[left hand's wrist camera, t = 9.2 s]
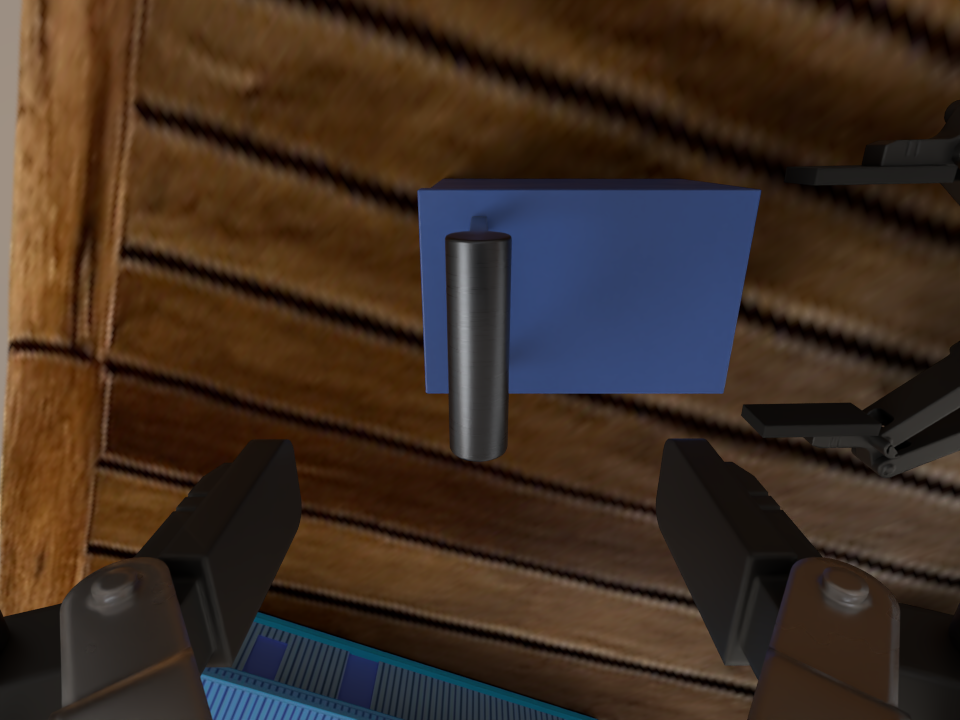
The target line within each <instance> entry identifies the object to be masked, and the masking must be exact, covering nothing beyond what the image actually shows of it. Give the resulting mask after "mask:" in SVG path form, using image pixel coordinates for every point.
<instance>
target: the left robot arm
mask: <svg viewBox="0 0 960 720" xmlns="http://www.w3.org/2000/svg"><path fill="white" fill-rule="evenodd" d="M656 515H657V521H658V525H659V528H660V530H661V533H662V535H663V537H664V539H665V541H666V543H667V545H668V547H669V549H670V551H671V554H672V556H673V558H674V560H675V562H676V564H677V566H678V568H679V570H680V572H681V575H682V577H683V579H684V581H685V583H686V585H687V587H688V589H689V591H690V593H691V595H692V598H693V600H694V602H695V604H696V606H697V608H698V610H699V612H700V614H701V616H702V619H703V621H704V623H705V625H706V627H707V629H708V631H709V633H710V635H711V637H712V640H713V642H714V644H715V646H716V648H717V650H718V652H719V654H720V656H721V658H722V661H723V663H724V665H750V666H751V668H752V670H753V671H754V673H755V675H756V677H757V679H758V684H757V688H756V691H755V695H754V698H753V701H752V705H751V708H750V712H749V715H748V719H747V720H960V603H959V606H958V608H957V610H956V613H955V615H950V614H946V613H941V612H937V611H932V610H928V609H924V608H919V607H915V606H910V605H906V604H902V603H898V602H897V600H896V599H895V597H894V596H893V594H892V593H891V592H890V591H889V590H888V589H887V588H886V587H885V586H884V585H883V584H882V583H881V582H880V581H878V580H877V579H876V578H874V577H873V576H871V575H870V574H868V573H866V572H865V571H863V570H861V569H859V568H857V567H855V566H852V565H850V564H847V563H844V562H841V561H838V560H834V559H830V558H823V557H822V556H821V555H820V553H819V552H818V551H817V550H816V549H815V548H814V546H813V545H812V544H811V543H810V542H809V540H808V539H807V538H806V537H805V536H804V535H803V533H802V532H801V531H800V530H799V529H798V527H797V526H796V525H795V524H794V523H793V522H792V520H791V519H790V518H789V517H788V516H787V514H786V513H785V512H784V511H783V510H780V506H779V505H778V504H777V503H776V501H775V500H774V499H773V498H772V497H771V496H768V492H767V491H766V490H765V488H764V487H763V486H762V485H761V484H760V482H759V481H758V480H757V479H756V478H755V477H754V476H753V475H752V474H750V473H749V472H747V471H745V470H744V469H742V468H741V467H739V466H738V465H736V464H735V463H733V462H724V461H723V460H722V459H721V457H720V456H719V455H718V453H717V452H716V451H715V450H714V448H713V447H712V446H711V445H710V443H709V442H708V441H707V440H706V439H668V440H667V441H666V443H665V445H664V450H663V456H662V463H661V470H660V477H659V483H658V490H657V497H656ZM300 518H301V496H300V489H299V482H298V476H297V469H296V462H295V456H294V450H293V446H292V443H291V442H290V441H289V440H251V441H250V442H249V443H248V444H247V445H246V447H245V448H244V449H243V450H242V452H241V453H240V454H239V455H238V457H237V458H236V459H235V460H234V462H233V463H224V464H222V465H221V466H219V467H217V468H216V469H214V470H213V471H211V472H210V473H208V474H207V475H205V476H204V477H202V478H201V480H200V481H199V482H198V483H197V484H196V485H195V487H194V488H193V489H192V490H191V491H190V492H189V494H188V497H185V498H184V499H183V501H182V502H181V503H180V504H179V505H178V506H177V508H176V511H173V512H172V514H171V515H170V516H169V517H168V518H167V519H166V521H165V522H164V523H163V524H162V525H161V526H160V528H159V529H158V530H157V531H156V532H155V533H154V535H153V536H152V537H151V538H150V539H149V540H148V542H147V543H146V544H145V545H144V546H143V547H142V549H141V550H140V551H139V552H138V553H137V555H136V556H135V557H134V558H130V559H126V560H122V561H119V562H116V563H113V564H110V565H108V566H105V567H103V568H101V569H99V570H97V571H95V572H94V573H92V574H90V575H89V576H87V577H86V578H84V579H83V580H82V581H80V582H79V583H78V584H77V585H76V586H75V587H74V588H73V589H72V590H71V591H70V592H69V593H68V594H67V596H66V597H65V599H64V600H63V602H62V603H61V604H57V605H53V606H49V607H44V608H40V609H36V610H31V611H27V612H23V613H18V614H14V615H9V616H5V617H3V615H2V612H1V610H0V720H213V719H212V715H211V712H210V708H209V705H208V701H207V698H206V695H205V691H204V688H203V684H202V681H201V675H202V673H203V671H204V669H205V667H232V665H233V663H234V661H235V658H236V656H237V654H238V652H239V650H240V648H241V646H242V644H243V642H244V640H245V638H246V636H247V634H248V632H249V629H250V627H251V625H252V623H253V621H254V619H255V617H256V615H257V613H258V611H259V609H260V607H261V605H262V603H263V600H264V598H265V596H266V594H267V592H268V590H269V588H270V586H271V584H272V582H273V580H274V578H275V576H276V574H277V571H278V569H279V567H280V565H281V563H282V561H283V559H284V557H285V555H286V553H287V551H288V549H289V547H290V545H291V542H292V540H293V538H294V536H295V534H296V532H297V530H298V527H299V523H300Z"/></svg>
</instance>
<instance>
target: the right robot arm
mask: <svg viewBox="0 0 960 720" xmlns="http://www.w3.org/2000/svg"><path fill="white" fill-rule="evenodd" d="M944 119H945V122H946V124H945V126H944V127H943V129H942V130H941V131H940V132H939V133H938V134H937V135H936V136H935V137H933V138H930V139H926V140H886V141H876V142H873V143H871V144H868V145H866V148H865V153H864V157H863V161H862V165H855V166H805V167H787V168H786V174H785V179H784V182H787V183H796V184H806V185H857V184H907V183H941V184H942V186H943V187H944V188H945V189H946V190H947V191H948V193H949V194H950V195H951V196H952V197H953V198H954V200H955V201H956V202H957V203H958V204H959V205H960V100H957V101H955V102H953V103H952V104H951V105H950V106H949V107H948V108H947V110H946V112H945V116H944ZM741 416H742V417H743V418H744V419H745V420H746V421H747V422H748V423H749V424H750V425H751V426H752V427H753V428H754V429H755V430H756V431H757V432H758V433H759V434H760V435H761V436H762V437H763V438H773V437H804V438H805V439H806V440H807V441H808V442H809V443H810V444H812V445H813V446H816V447H819V448H836V447H837V448H851V449H852V453H853V454H854V455H855V456H856V457H857V458H859V459H860V460H861V461H862V462H864V463H865V464H866V465H867V466H868V467H870V468H871V469H872V470H873V471H875V472H876V473H877V474H878V475H880V476H881V477H883V478H888V477H892V476H894V475H897V474H900V473H902V472H905V471H907V470H910V469H913V468H915V467H918V466H920V465H923V464H926V463H928V462H931V461H933V460H936V459H939V458H941V457H944V456H946V455H949V454H952V453H954V452H957V451H959V450H960V341H959V342H957V343H956V344H954V345H953V346H952V347H951V348H950V355H948V356H947V357H945V358H944V359H942V360H941V361H939V362H938V363H936V364H934V365H933V366H931V367H930V368H928V369H927V370H925V371H924V372H922V373H920V374H919V375H917V376H916V377H914V378H913V379H911V380H909V381H908V382H906V383H905V384H903V385H902V386H900V387H898V388H897V389H895V390H894V391H892V392H891V393H889V394H887V395H886V396H884V397H883V398H881V399H880V400H878V401H876V402H875V403H873V404H872V405H870V406H869V407H867V408H865V409H864V410H860V409H859V408H857V407H856V406H855V405H853V404H852V403H805V404H745V405H743V408H742V414H741ZM881 425H884V427H882V426H881Z"/></svg>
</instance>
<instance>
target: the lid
mask: <svg viewBox="0 0 960 720" xmlns="http://www.w3.org/2000/svg"><path fill="white" fill-rule="evenodd" d="M760 195H761V190H760V189H752V188H421V189H419V190H418V212H419V236H420V260H421V284H422V308H423V333H424V357H425V381H426V393H449V428H450V449H451V450H452V452H453V453H454V454H455V455H456V456H458V457H459V458H462V459H464V460H468V461H478V462H479V461H489V460H493V459H496V458H498V457H500V456H501V455H503V454H504V452H505V451H506V449H507V442H508V397H509V393H724V387H725V382H726V377H727V371H728V366H729V361H730V355H731V350H732V345H733V339H734V334H735V329H736V323H737V318H738V313H739V307H740V302H741V297H742V291H743V286H744V281H745V275H746V270H747V264H748V259H749V254H750V248H751V243H752V238H753V232H754V227H755V222H756V216H757V211H758V206H759V200H760Z"/></svg>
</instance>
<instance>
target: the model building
mask: <svg viewBox="0 0 960 720" xmlns="http://www.w3.org/2000/svg"><path fill="white" fill-rule="evenodd" d="M201 681H202V684H203V688H204V691H205V695H206V698H207V701H208V705H209V708H210V712H211V715H212V719H213V720H598V719H595V718H592V717H589V716H585V715H582V714H579V713H576V712H573V711H570V710H566V709H563V708H560V707H557V706H554V705H551V704H547V703H544V702H541V701H538V700H535V699H532V698H528V697H525V696H522V695H519V694H516V693H513V692H510V691H506V690H503V689H500V688H497V687H494V686H491V685H487V684H484V683H481V682H478V681H475V680H472V679H468V678H465V677H462V676H459V675H456V674H453V673H449V672H446V671H443V670H440V669H437V668H434V667H431V666H427V665H424V664H421V663H418V662H415V661H412V660H408V659H405V658H402V657H399V656H396V655H393V654H389V653H386V652H383V651H380V650H377V649H374V648H370V647H367V646H364V645H361V644H358V643H355V642H351V641H348V640H345V639H342V638H339V637H336V636H333V635H329V634H326V633H323V632H320V631H317V630H314V629H310V628H307V627H304V626H301V625H298V624H295V623H291V622H288V621H285V620H282V619H279V618H276V617H272V616H269V615H266V614H263V613H260V612H258V613H257V615H256V617H255V619H254V621H253V623H252V625H251V627H250V629H249V632H248V634H247V636H246V638H245V640H244V642H243V644H242V646H241V648H240V650H239V652H238V654H237V656H236V658H235V661H234V663H233V665H232V667H205V669H204V671H203V673H202V675H201Z"/></svg>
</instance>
